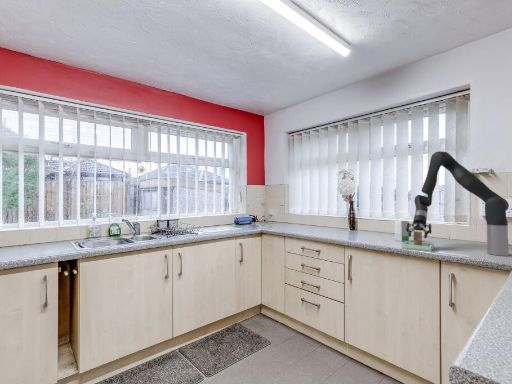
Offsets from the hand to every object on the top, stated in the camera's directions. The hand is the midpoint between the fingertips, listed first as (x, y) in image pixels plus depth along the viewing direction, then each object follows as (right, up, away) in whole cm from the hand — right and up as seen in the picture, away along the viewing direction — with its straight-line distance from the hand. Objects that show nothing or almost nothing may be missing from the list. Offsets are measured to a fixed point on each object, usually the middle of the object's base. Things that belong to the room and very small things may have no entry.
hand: (417, 236), depth 176 cm
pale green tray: (+1, -8, +1) cm, 8 cm away
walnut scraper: (+1, -7, +1) cm, 7 cm away
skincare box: (+6, -8, +31) cm, 33 cm away
